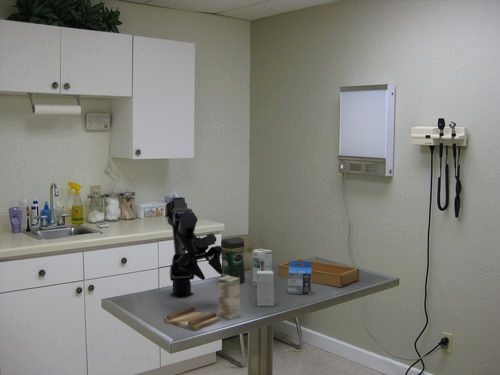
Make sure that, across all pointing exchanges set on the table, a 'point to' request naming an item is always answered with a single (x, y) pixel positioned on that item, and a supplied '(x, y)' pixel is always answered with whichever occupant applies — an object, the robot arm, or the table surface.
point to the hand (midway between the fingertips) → (213, 276)
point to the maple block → (229, 297)
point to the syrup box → (261, 262)
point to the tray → (326, 273)
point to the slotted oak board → (191, 319)
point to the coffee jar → (233, 258)
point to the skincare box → (265, 288)
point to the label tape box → (299, 277)
